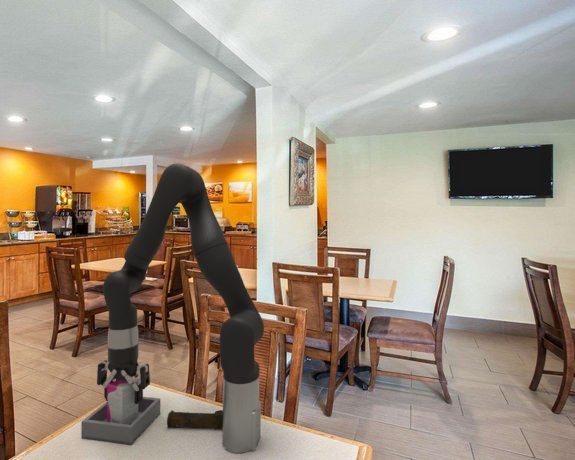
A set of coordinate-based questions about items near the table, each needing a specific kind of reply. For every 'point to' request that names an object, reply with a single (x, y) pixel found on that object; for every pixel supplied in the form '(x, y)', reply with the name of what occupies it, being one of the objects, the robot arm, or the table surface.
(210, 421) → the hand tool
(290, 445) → the table surface
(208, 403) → the table surface
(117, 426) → the bin
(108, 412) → the supplement box
